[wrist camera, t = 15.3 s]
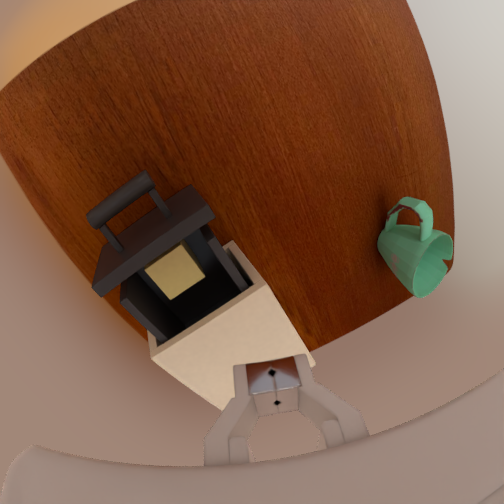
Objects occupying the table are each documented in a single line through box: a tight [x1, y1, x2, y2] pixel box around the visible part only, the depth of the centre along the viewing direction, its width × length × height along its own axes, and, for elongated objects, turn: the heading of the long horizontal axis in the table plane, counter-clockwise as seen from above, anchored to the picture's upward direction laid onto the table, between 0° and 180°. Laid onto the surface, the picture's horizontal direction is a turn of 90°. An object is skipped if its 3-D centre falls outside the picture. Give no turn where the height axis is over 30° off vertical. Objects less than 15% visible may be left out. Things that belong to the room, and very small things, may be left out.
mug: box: [377, 197, 453, 298], centre depth 36 cm, size 15×10×10 cm
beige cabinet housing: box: [147, 240, 316, 411], centre depth 31 cm, size 15×12×10 cm
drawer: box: [86, 170, 249, 344], centre depth 26 cm, size 18×11×8 cm, turn 28°
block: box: [144, 239, 205, 300], centre depth 26 cm, size 4×4×4 cm
